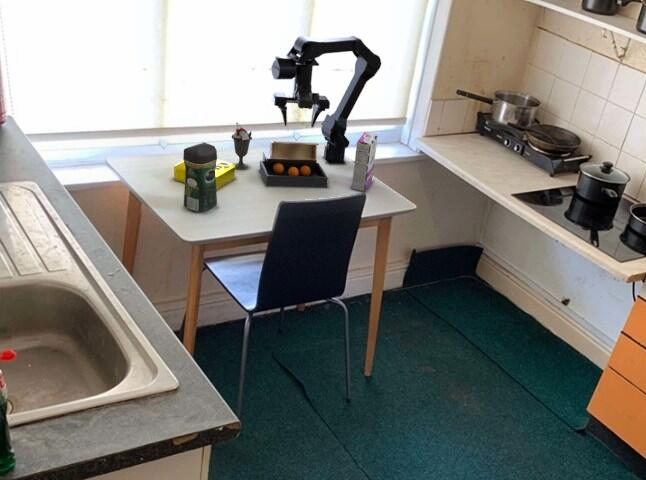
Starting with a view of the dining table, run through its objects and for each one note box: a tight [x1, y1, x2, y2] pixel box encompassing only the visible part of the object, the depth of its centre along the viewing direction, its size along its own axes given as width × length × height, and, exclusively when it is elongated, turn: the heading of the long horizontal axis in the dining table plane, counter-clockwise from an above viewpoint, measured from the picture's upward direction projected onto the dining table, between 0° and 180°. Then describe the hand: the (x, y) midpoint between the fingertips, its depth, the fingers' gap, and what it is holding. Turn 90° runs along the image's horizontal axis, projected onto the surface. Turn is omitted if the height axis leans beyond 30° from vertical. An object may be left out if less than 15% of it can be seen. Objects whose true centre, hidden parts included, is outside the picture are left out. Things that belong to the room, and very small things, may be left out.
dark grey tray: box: [259, 160, 329, 189], centre depth 254 cm, size 20×13×4 cm, turn 107°
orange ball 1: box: [273, 163, 284, 174], centre depth 254 cm, size 4×4×4 cm
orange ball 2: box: [288, 167, 299, 176], centre depth 254 cm, size 4×4×4 cm
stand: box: [262, 150, 318, 163], centre depth 258 cm, size 17×7×6 cm, turn 107°
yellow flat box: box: [173, 159, 236, 190], centre depth 243 cm, size 15×15×5 cm
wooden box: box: [269, 140, 319, 160], centre depth 250 cm, size 15×6×6 cm
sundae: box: [231, 122, 253, 171], centre depth 252 cm, size 7×7×15 cm
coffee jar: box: [182, 142, 218, 213], centre depth 221 cm, size 10×8×19 cm
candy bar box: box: [351, 131, 379, 193], centre depth 254 cm, size 11×5×16 cm, turn 168°
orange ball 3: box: [300, 166, 310, 176], centre depth 256 cm, size 4×4×4 cm
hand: (298, 126), depth 259 cm, fingers open, 9 cm apart
